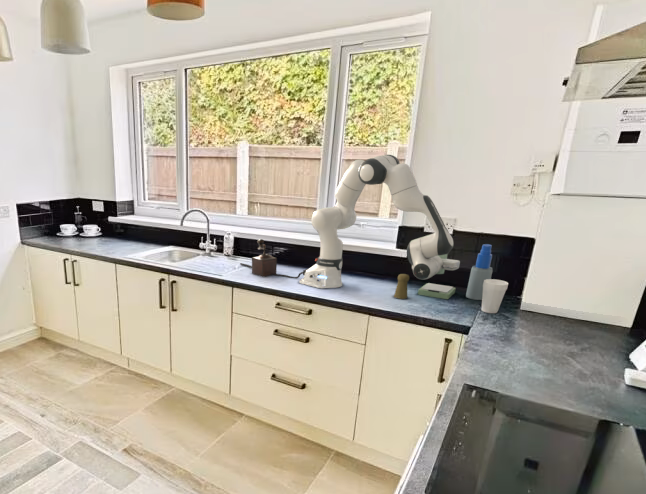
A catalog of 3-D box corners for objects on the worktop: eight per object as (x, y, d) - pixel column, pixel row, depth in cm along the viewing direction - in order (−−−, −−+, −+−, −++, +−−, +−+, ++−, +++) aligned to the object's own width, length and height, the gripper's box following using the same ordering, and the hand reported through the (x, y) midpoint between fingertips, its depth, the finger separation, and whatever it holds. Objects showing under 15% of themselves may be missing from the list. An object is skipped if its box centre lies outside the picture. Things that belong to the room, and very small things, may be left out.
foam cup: (499, 308, 203) (506, 280, 198) (503, 315, 195) (510, 285, 190) (476, 306, 206) (482, 278, 200) (478, 312, 198) (485, 283, 192)
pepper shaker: (405, 295, 221) (409, 273, 217) (408, 299, 215) (412, 276, 211) (392, 294, 221) (396, 272, 217) (395, 298, 216) (398, 275, 212)
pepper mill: (277, 274, 259) (279, 242, 252) (262, 277, 253) (263, 244, 246) (260, 269, 270) (261, 238, 263) (245, 271, 264) (246, 240, 257)
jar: (428, 272, 218) (432, 249, 214) (432, 270, 222) (436, 247, 218) (442, 274, 215) (446, 251, 210) (445, 272, 219) (449, 249, 215)
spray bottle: (469, 293, 225) (480, 242, 215) (488, 297, 219) (500, 244, 209) (463, 297, 219) (473, 244, 209) (482, 301, 213) (494, 247, 203)
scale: (417, 294, 223) (418, 288, 222) (425, 288, 234) (426, 282, 232) (447, 299, 216) (448, 293, 214) (454, 292, 226) (456, 286, 225)
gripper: (457, 261, 200) (464, 255, 210) (410, 255, 211) (419, 250, 221) (454, 275, 202) (461, 269, 213) (408, 268, 213) (417, 263, 224)
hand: (439, 259), depth 217 cm, fingers closed on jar, 6 cm apart
